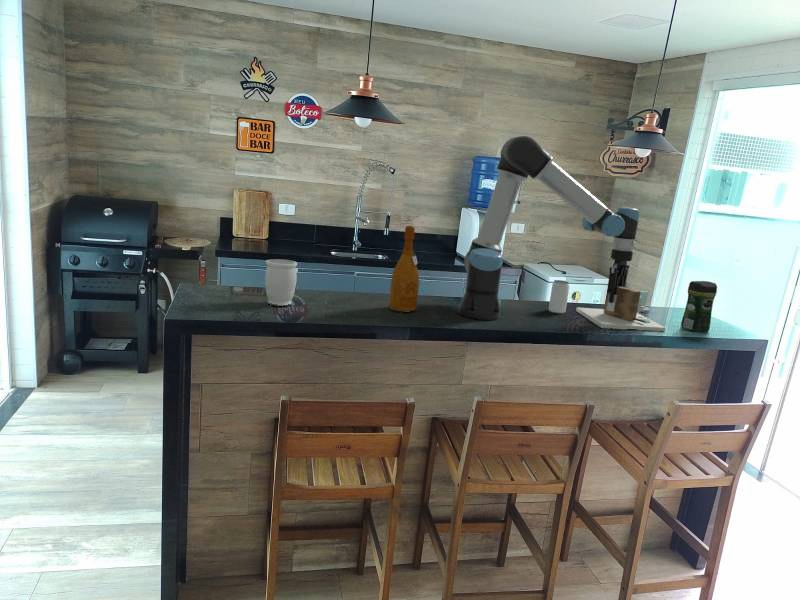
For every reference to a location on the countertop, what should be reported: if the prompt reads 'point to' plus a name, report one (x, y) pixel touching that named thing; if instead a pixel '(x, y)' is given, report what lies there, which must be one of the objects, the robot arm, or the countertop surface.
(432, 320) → the countertop surface
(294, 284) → the jar
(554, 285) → the can
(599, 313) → the dial plate
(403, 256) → the wine bottle
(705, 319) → the coffee jar
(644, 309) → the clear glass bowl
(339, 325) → the countertop surface
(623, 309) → the brown wooden box
